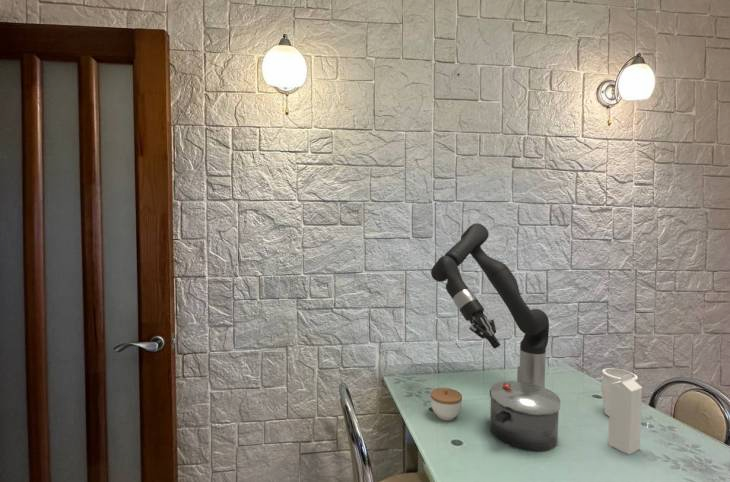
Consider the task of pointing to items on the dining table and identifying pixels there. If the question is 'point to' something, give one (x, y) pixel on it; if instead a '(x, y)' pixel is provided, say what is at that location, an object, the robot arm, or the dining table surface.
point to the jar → (611, 377)
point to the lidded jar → (446, 403)
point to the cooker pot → (524, 428)
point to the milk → (625, 415)
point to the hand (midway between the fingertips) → (497, 346)
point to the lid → (525, 398)
